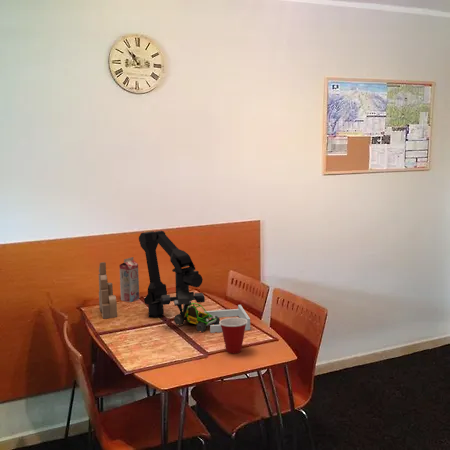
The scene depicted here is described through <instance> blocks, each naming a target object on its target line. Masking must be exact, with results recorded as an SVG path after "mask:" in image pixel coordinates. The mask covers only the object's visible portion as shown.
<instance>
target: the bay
mask: <svg viewBox="0 0 450 450" xmlns="http://www.w3.org/2000/svg"><path fill="white" fill-rule="evenodd" d="M206 312H207V313H209V314H210V315H212V316H217V317H219V318H233V317H238V318H243V319H246V320H247V324H246V327H245V331H251V318H250V316H249V315H248V313H247V312H246V310H245V309H244V308H243V306H242V304H238V305H237V308H234V309H218V310H206ZM206 312H205V310H204V312H203V313H206ZM207 313H206V314H207ZM209 317H210V316H209ZM211 318H212V317H210V318H209V319H211ZM209 332H210V334H215V332H217V333H223V332H222V327H221V325H220V324H218V325H213V324H210V325H209Z"/></svg>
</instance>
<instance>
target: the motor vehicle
mask: <svg viewBox="0 0 450 450" xmlns="http://www.w3.org/2000/svg"><path fill="white" fill-rule="evenodd" d="M191 303H192V304H191V305H189V306H188V308H187V310H186V313H185V316H184V318H182V316H181V313H180V312H179V313H178V314H176V315H175V316H174V317H173V318H174V319H173V321H174V323H176V324H179V325H180V326H183V325H184V323H185V322H188V323H190V324H194V325H196V330H197V331H198V332H199V331H201V332H200V333H204V332H205V331H206V329H207V328H206V327H208V326H210V325H213V324H214V325H220V323H219V322H220V321H221V320H220V317H217V316H212V315H210V314H209V313H207V312H206V311H207V310H206V309H205V308H204V307H203V306H202V305H201V304H200V303H197V302H191ZM195 305H196V306H195ZM198 307H200V308H201V309H203V310H204V311H205V312H206V313H207V314H206V313H204V312H202V311H199V310H198ZM182 311H183V308H182ZM209 316H210V317H212V318H210V317H209ZM176 324H175V325H176ZM182 324H183V325H182ZM179 325H178V326H179ZM203 331H204V332H203Z"/></svg>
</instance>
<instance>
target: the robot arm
mask: <svg viewBox="0 0 450 450" xmlns="http://www.w3.org/2000/svg"><path fill="white" fill-rule="evenodd" d="M138 242H139V244H140V247H141V248H142V250H143V251H144V255H145V260H146V265H147V266H146V267H147V273H148V278H149V284H148V287H147V295H146V296H145V297H144V298H143V301H144V304H145V305H147V306H148V312H147V313H148V314H147V315H149V316H148V318H149V317H153V318H163V315H164V314H165V313H164V306H165V305H170V304H171V302H173V303H174V306H175V307H177V308H178V310H179V314H180V313H181V316H182V318H184V316H185V313H186V310H187V308H188V306H189V305H190V306H192V305H193V304H192V303H193V301H195V303H197V304H200V303H205V301H206V298H205V295H204V293H203V292H194V291H190V287H192V288H193V287H194V288H199V287H200V286H202V284H203V277H202V275H201V274H200V273H199V271H198V270H196V265H195V264H194V262H193V260H192V259H191V256H190V255H189V254H188V253H187V252H186V251H184V250H182V249H179V247H177V245H176V244H175V243H173V241H172V240H171V239H170V238H169V237H168V236H167V235H166V232H165V231H163V230H156V231H153V230H152V231H145V232H141V233H140V235H138ZM158 245H159V246H160V247H161V248H162V249H163V250H164V252H165V253H166V254H167V255H168V256H169V257H170V258H169V262H170V263H171V264H172V266H173V269H172V272H174V274H175V275H174V276H175V296H171V295H170V294H168V290H167V285H166V284H165V283H163V282H162V280H161V274H160V268H159V267H160V266H159V262H158V255H157V248H158ZM191 304H192V305H191ZM182 305H183V306H182ZM182 309H183V310H182Z"/></svg>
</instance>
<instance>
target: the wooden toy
mask: <svg viewBox="0 0 450 450" xmlns="http://www.w3.org/2000/svg"><path fill="white" fill-rule="evenodd" d="M106 264H107V263H106V262H105V261H103V262H99V267H98V303H99V312H100V313H101V317H102V319H104V320H105V319H112V318H118V305H117V297H116V295H115V294H114V292H113V291H114V290H113V282H108V276H107V275H108V274H107V265H106Z"/></svg>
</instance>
